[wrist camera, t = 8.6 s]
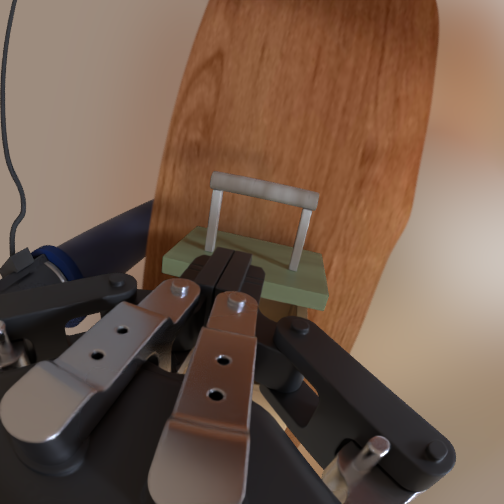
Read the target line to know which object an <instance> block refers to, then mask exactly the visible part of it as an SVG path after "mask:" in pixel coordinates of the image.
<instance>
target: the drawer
mask: <svg viewBox="0 0 504 504" xmlns="http://www.w3.org/2000/svg"><path fill="white" fill-rule="evenodd" d="M210 188H211V189H214V190H213V194H212V200H211V207H210V214H209V221H208V228H204V227H200V226H197V227H196V228H194V229H193V230H192V231H191V232H190V233H189V234H188V235H186V236H185V237H184V238H183V239H182V240H181V241H180V242H178V243H177V244H176V245H175V246H174V247H173V248H172V249H171V250H169V251H168V252H167V253H166V254H165V255H164V256H163V259H162V273H165V274H169V275H173V276H177V277H180V276H181V275H182V273H183V272H184V271H185V270H186V269H187V268H188V266H189V265H190V264H191V263H192V261H193V260H194V259H195V258H196V257H199V256H201V255H209V256H211V255H212V254H213V253H214V251H215V250H216V248H217V247H218V246H219V247H223V248H228V249H232V250H235V251H236V250H237V251H242V252H246V253H251V254H253V255H252V261H251V265H253V266H258V267H262V268H263V270H264V272H265V273H266V275H265V279H264V284H263V288H262V293H261V297H260V302H259V306H258V307H259V310H260V311H261V313H262V314H263V315H264V316H266V317H267V318H269V319H270V320H273V321H275V322H278V321H279V320H280V319H281V318H283V317H286V316H298V317H302V318H305V319H307V308H311V309H316V310H321V311H324V309H325V306H326V303H327V300H328V297H329V293H328V287H327V282H326V276H325V270H324V265H323V259H322V254H320V253H315V252H311V251H307V250H302V249H303V245H304V241H305V237H306V233H307V230H308V226H309V221H310V217H311V213H312V210H314V211H315V210H316V207H317V204H318V199H319V193H318V192H313V191H309V190H305V189H301V188H296V187H292V186H287V185H283V184H278V183H274V182H269V181H264V180H259V179H254V178H249V177H244V176H239V175H234V174H229V173H223V172H218V171H214V172H213V173H212V176H211V180H210ZM223 191H226V192H232V193H237V194H241V195H246V196H251V197H256V198H261V199H265V200H270V201H275V202H279V203H284V204H288V205H292V206H297V207H301V208H303V209H302V213H301V218H300V222H299V226H298V230H297V234H296V238H295V242H294V247H289V246H285V245H280V244H276V243H272V242H267V241H263V240H258V239H254V238H249V237H245V236H240V235H236V234H231V233H227V232H222V231H218V230H217V229H218V222H219V216H220V209H221V203H222V197H223ZM188 365H189V363H188ZM188 365H187V367H188ZM253 384H256V385H259V384H260V383H258V382H256V381H254V383H253Z"/></svg>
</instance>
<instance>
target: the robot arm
mask: <svg viewBox="0 0 504 504" xmlns="http://www.w3.org/2000/svg"><path fill="white" fill-rule="evenodd" d="M16 2H17V0H13V2H12V6H11V10H10V15H9V20H8V25H7V30H6V36H5V42H4V50H3V59H2V70H1V90H0V91H1V92H0V95H1V98H0V99H1V100H0V101H1V102H0V105H1V129H2V140H3V148H4V154H5V159H6V163H7V166H8V169H9V171H10V174H11V176H12V178H13V180H14V182H15V184H16V186H17V188H18V191H19V194H20V199H21V212H20V214H19V216H18V217H17V218H16V220H15V221H14V223H13V225H12V227H11V232H10V257H9V259H8V260H7V261H6V262H5V264H4V265H3V266H2V267H1V268H0V274H1V276H2V279H1V280H0V504H408V503H409V502H411V501H412V500H414V499H415V498H416V497H418V496H419V495H420V494H422V493H423V492H425V491H426V490H427V489H429V488H430V487H431V486H433V485H434V484H435V483H436V482H438V481H439V480H440V479H441V478H442V477H444V476H445V475H446V474H447V473H448V472H450V471H451V470H452V468H453V467H454V465H455V462H456V453H455V450H454V447H453V446H452V444H451V443H450V441H449V440H448V439H447V438H445V437H444V436H443V435H442V434H441V433H440V432H439V431H437V430H436V429H435V428H434V427H433V426H431V425H430V424H429V423H428V422H427V421H426V420H425V419H423V418H422V417H421V416H420V415H419V414H418V413H416V412H415V411H414V410H413V409H412V408H411V407H409V406H408V405H407V404H406V403H405V402H404V401H402V400H401V399H400V398H399V397H398V396H397V395H395V394H394V393H393V392H392V391H391V390H390V389H389V388H387V387H386V386H385V385H384V384H383V383H381V381H379V380H378V379H377V378H376V377H375V376H374V375H373V374H371V373H370V372H369V371H368V370H367V369H366V368H365V367H363V366H362V365H361V364H360V363H359V362H358V361H357V360H355V359H354V358H353V357H352V356H351V355H350V354H349V353H347V352H346V351H345V350H344V349H343V348H342V347H341V346H340V345H338V344H337V343H336V342H335V341H334V340H333V339H332V338H330V337H329V336H328V335H327V334H326V333H325V332H324V331H323V330H321V329H320V328H319V327H318V326H317V325H316V324H315V323H313V322H312V321H310V320H308V319H305V318H302V317H298V316H286V317H283V318H281V319H280V320H279V321H278V322H275V321H273V320H270V319H269V318H267V317H266V316H264V315H263V314H262V313H261V311H260V310H259V307H258V306H259V302H260V297H261V293H262V288H263V284H264V279H265V275H266V273H265V272H264V270H263V268H262V267H258V266H253V265H251V261H252V255H253V254H251V253H246V252H242V251H237V250H236V251H235V250H232V249H228V248H223V247H219V246H218V247H217V248H216V250H215V251H214V253H213V254H212V255H211V256H209V255H201V256H199V257H196V258H195V259H194V260H193V261H192V263H191V264H190V265H189V266H188V268H187V269H186V270H185V271H184V272H183V273H182V275H181V276H180V277H179V278H171V279H167V280H165V281H163V282H162V283H161V284H160V285H158V286H157V287H156V288H155V289H154V290H141V289H137V281H136V279H135V278H134V277H132V276H131V275H128V274H125V273H110V274H104V275H99V276H94V277H89V278H83V279H78V280H73V281H68V279H67V277H66V276H65V275H64V273H63V272H62V271H61V270H60V268H59V267H58V266H56V265H55V264H54V263H53V262H51V261H49V259H48V258H47V256H46V254H42V255H41V256H39V257H37V258H35V259H33V257H32V255H31V253H30V251H29V249H28V248H26V249H23V250H21V251H20V252H18V253H16V254H15V232H16V228H17V226H18V224H19V223H20V222H21V220H22V219H23V218H24V216H25V213H26V198H25V194H24V190H23V187H22V185H21V183H20V180H19V178H18V176H17V174H16V172H15V171H14V168H13V165H12V162H11V159H10V154H9V149H8V142H7V132H6V118H5V78H6V64H7V53H8V45H9V38H10V32H11V26H12V20H13V15H14V10H15V6H16ZM99 312H100V314H101V320H100V321H98V322H97V323H96V324H95V325H94V326H93V327H91V328H90V329H89V330H88V331H87V332H82V333H79V334H75V335H70V336H69V335H66V333H65V325H66V323H67V322H68V321H69V320H71V319H74V318H78V317H82V316H87V315H91V314H95V313H99ZM188 363H189V365H188ZM187 365H188V368H187V371H186V373H185V374H182V373H183V372H184V370H185V368H186V367H187ZM304 377H305V378H306V379H307V380H308V381H309V382H310V384H311V385H312V386H313V387H314V388H315V389H316V391H317V392H318V395H319V397H318V396H317V395H316V393H315V392H314V391H313V390H312V389H311V388H310V387H309V386H308V385H307V384H306V383H305V382H304V381H303V379H304ZM254 381H256V382H258V383H260V384H259V390H260V392H261V394H262V395H263V396H264V398H265V399H266V400H267V402H268V403H269V404H270V405H271V407H272V408H273V409H274V411H275V412H276V413H277V414H278V416H279V417H280V418H281V419H282V421H283V422H284V423H285V424H286V426H287V427H288V428H289V429H290V431H291V432H292V433H293V434H294V435H295V437H296V438H297V439H298V440H299V442H300V443H301V444H302V445H303V446H304V447H305V449H306V450H307V451H308V452H309V453H310V455H311V456H312V457H313V458H314V459H315V460H316V461H317V462H318V464H319V465H320V466H321V467H322V468H323V470H324V471H323V474H322V479H321V478H320V477H319V476H318V474H317V473H316V472H315V471H314V469H313V468H312V467H311V466H310V464H309V463H308V462H307V461H306V459H305V458H304V457H303V455H302V454H301V453H300V452H299V450H298V449H297V448H296V446H295V445H294V444H293V442H292V441H291V440H290V438H289V437H288V436H287V434H286V433H285V432H284V430H283V429H282V427H281V426H280V425H279V423H278V422H277V421H276V419H275V418H274V417H273V416H272V415H271V414H270V413H269V412H268V411H267V410H265V409H264V408H263V407H262V406H260V405H259V404H257V403H256V402H254V401H252V395H253V383H254Z"/></svg>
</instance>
